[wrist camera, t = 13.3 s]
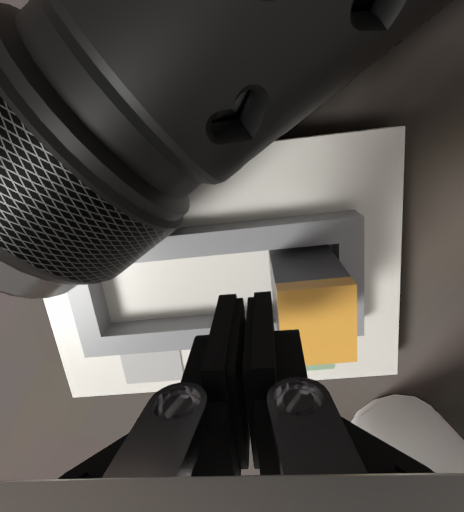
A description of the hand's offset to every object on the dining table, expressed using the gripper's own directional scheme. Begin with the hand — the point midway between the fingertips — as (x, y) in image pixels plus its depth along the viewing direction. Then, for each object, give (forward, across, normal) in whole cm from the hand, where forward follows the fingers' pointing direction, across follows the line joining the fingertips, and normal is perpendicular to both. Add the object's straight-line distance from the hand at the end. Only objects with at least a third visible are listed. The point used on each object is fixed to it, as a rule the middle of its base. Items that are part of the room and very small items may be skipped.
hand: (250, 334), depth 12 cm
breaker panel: (+10, +2, +2) cm, 11 cm away
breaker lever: (+8, -2, +1) cm, 9 cm away
